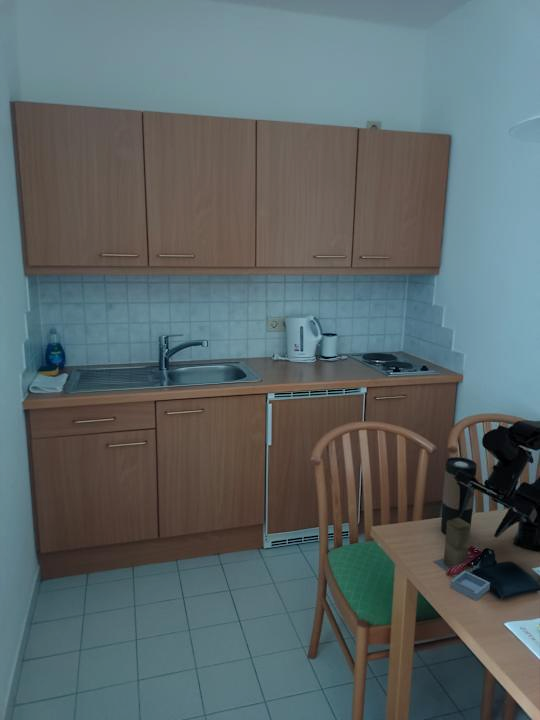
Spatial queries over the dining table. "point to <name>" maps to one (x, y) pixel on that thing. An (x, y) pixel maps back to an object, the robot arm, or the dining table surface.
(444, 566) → the mat
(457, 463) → the travel mug
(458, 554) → the olive tall block
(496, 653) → the dining table surface
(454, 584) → the socket block
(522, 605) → the dining table surface
